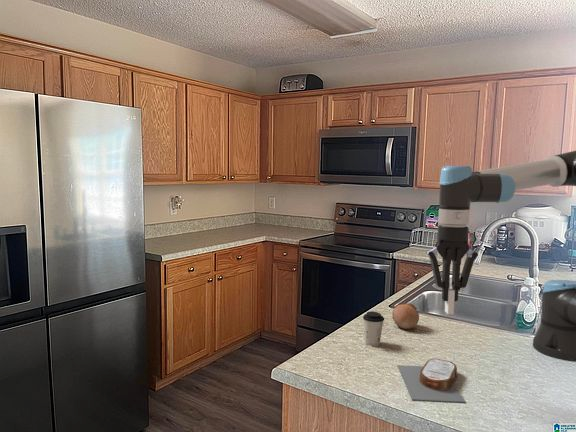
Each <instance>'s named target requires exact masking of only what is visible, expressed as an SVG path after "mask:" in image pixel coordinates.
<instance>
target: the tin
mask: <svg viewBox="0 0 576 432" xmlns="http://www.w3.org/2000/svg"><path fill="white" fill-rule="evenodd" d="M423 366H424V367H423V368H422V369H421V371H420V378H419V381H420V383H421V384H422V385H424V386H425V387H428V388H430V389H434V390H447V389H450V388H451V387H452V385H453V384H455V381H456V379H457V377H458V374H457V373H458V368H457V365H456V364H455V363H454V362H453V361H449V360H445V359H441V358H430V359H428V360H427V361H426V363H424V364H423Z"/></svg>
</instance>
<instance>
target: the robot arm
mask: <svg viewBox="0 0 576 432" xmlns="http://www.w3.org/2000/svg"><path fill="white" fill-rule="evenodd" d="M472 169H473V168H472V167H471V166H470V165H444V166H442V168H441V172H440V175H439V177H440V178H439V197H438V198H439V200H438V201H439V203H438V219H437V220H438V222H437V223H438V224H439V225H438V226H437V241H436V243H435V247H434V248H432V249H428V250H426V254H427V256H428V258H429V260H430V264H431V265H430V266H431V269H432V275H433V279H434V280H433V281H434V283H435V285H436V286H437V287H438V288H441V299H442V301H443V302H444V313H446V314H447V315H455V313H454V312H455V302H458V300H459V291H460V290H461V289H462V288H463V289H464V288H466V287H467V286H468V281H469V278H470V276H471V271H472V268H473V265H474V262H475V260H476V259H477V258H478V257H479V253H478V252H476V251H475V250H472V249H471V247H470V245H469V233H470V231H469V230H470V229H469V228H470V227H468V226H467V225H469V224H470V209H471V203H496V204H498V203H505V202H509V201H510V200H511V199H512V198H513V197H514V196H515V192H516V191H517V190H524V189H531V188H537V187H543V186H548V185H549V186H550V187H555V188H556V187H557V188H559V187H565V186H566V187H570V186H571V187H576V150H573V151H568V152H564V153H560V154H555V155H554V154H553V155H549V156H547V157H546V158H545V159H544V160H537V161H532V162H524V163H518V164H513V165H506V166H505V165H504V166H500V167H499V166H498V167H493V168H486V169H481V170H480V169H479V170H475V171H473V170H472ZM438 254H439V255H440V257H441V258H442V260H441V261H442V275H441V271H440V266H439V262H438V258H437V257H438ZM465 256H466V258H465V261H464V264H463V266H462V267H463V268H462V269H461V264H462V259H463V258H464V257H465ZM451 265H452V267H451ZM451 268H452V269H451ZM451 273H452V274H451ZM450 275H451V276H450ZM450 277H451V287H450ZM541 299H542V300H541V312H540V313H541V314H540V323H539V326H538V329H537V331H536V332H535V335H534V337H533V339H532V348H534V349H535V350H536V351H537V352H538V353H541V354H543V355H547V356H549V357H553V358H556V359H561V360H567V361H576V280H573V279H572V280H570V279H550V280H547V281H545V283H544V284H543V290H542V298H541Z"/></svg>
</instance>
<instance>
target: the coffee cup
mask: <svg viewBox="0 0 576 432" xmlns="http://www.w3.org/2000/svg"><path fill="white" fill-rule="evenodd" d="M362 319H363V328H364V329H363V330H364V341H365V344H366V345H367V346H371V347H378V346H380V343H381V337H382V331H383V326H384V321H385V317H384V316H383V315H382V314H381V313H380V312H377V311H373V310H372V311H367V312H366V313H365V314H364V315H363V316H362Z"/></svg>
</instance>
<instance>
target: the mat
mask: <svg viewBox="0 0 576 432" xmlns="http://www.w3.org/2000/svg"><path fill="white" fill-rule="evenodd" d="M423 367H424V365H403V364H402V365H401V364H397V369H398V370H399V373H400V376H401V377H402V380H403V383H404V385H405V386H406V387H405V388H406V390H407V392H408V393H409V396H410V399H411V401H416V402H417V401H419V402H420V401H422V402H439V403H442V402H443V403H463V404H466V401H465V399H464V398H463V396H462V394H461V393H460V391H459V390H458V388H457V387H456V385H455V383H453V385H452V387H451V388H450V389H447V390H434V389H430V388H428V387H425V386H424V385H422V384H421V383H420V381H419V378H420V371H421V369H422V368H423Z"/></svg>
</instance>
